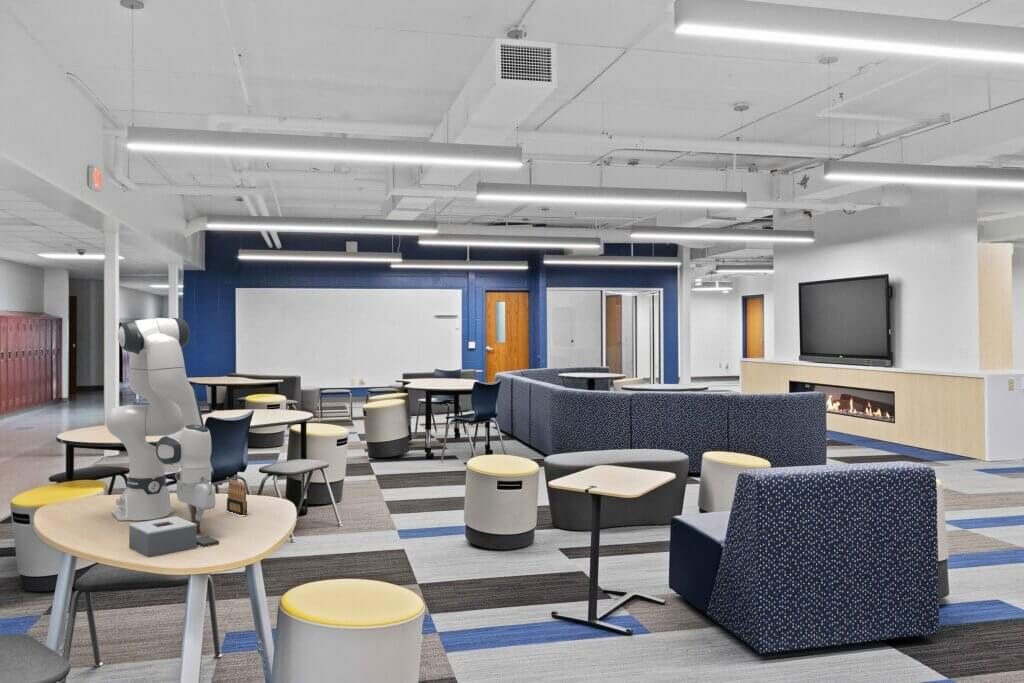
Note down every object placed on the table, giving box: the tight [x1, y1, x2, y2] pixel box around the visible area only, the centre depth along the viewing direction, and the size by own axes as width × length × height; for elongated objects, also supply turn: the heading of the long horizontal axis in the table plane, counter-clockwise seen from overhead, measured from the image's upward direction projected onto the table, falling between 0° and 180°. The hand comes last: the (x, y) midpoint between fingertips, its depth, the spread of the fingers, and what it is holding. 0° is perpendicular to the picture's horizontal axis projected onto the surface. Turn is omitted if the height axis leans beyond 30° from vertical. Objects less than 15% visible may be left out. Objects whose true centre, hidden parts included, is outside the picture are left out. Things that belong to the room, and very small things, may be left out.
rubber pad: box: [196, 535, 220, 548], centre depth 229 cm, size 8×5×1 cm, turn 47°
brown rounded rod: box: [191, 506, 201, 535], centre depth 240 cm, size 3×3×10 cm
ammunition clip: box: [226, 478, 248, 516], centre depth 267 cm, size 11×2×12 cm, turn 50°
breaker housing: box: [128, 516, 198, 558], centre depth 224 cm, size 14×14×7 cm
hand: (195, 519), depth 240 cm, fingers closed on brown rounded rod, 3 cm apart
